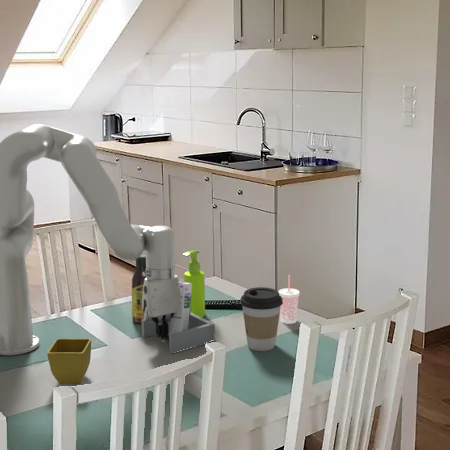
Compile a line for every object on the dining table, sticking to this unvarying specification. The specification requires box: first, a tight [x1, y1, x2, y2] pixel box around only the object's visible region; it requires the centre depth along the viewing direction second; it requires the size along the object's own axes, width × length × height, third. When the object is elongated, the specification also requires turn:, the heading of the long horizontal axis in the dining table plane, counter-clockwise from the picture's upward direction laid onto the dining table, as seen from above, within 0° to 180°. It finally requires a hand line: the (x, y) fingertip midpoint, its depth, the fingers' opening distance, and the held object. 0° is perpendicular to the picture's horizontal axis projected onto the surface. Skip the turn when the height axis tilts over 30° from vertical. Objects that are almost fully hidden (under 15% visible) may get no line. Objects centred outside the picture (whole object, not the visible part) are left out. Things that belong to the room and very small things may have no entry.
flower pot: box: [46, 338, 92, 385], centre depth 175 cm, size 9×9×9 cm
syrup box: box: [168, 281, 192, 336], centre depth 202 cm, size 6×6×14 cm
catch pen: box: [140, 312, 216, 354], centre depth 200 cm, size 14×15×5 cm
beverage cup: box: [277, 274, 300, 325], centre depth 211 cm, size 6×6×14 cm
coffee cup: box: [239, 286, 283, 352], centre depth 193 cm, size 11×11×15 cm
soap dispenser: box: [182, 249, 206, 318], centre depth 215 cm, size 6×7×20 cm
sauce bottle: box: [131, 253, 147, 324], centre depth 212 cm, size 7×6×20 cm
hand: (162, 336), depth 198 cm, fingers closed
